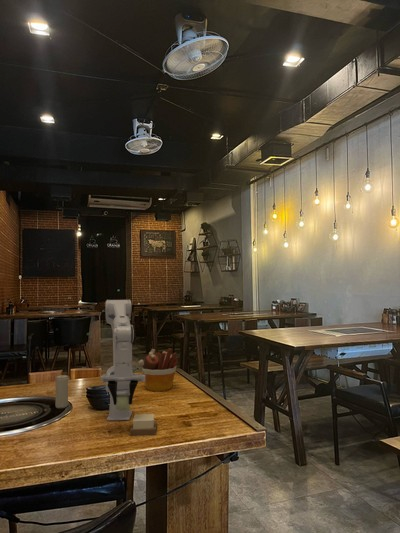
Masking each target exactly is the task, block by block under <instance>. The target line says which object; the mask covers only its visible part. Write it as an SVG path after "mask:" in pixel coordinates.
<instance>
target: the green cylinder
mask: <svg viewBox="0 0 400 533" xmlns="http://www.w3.org/2000/svg"><path fill="white" fill-rule="evenodd" d="M129 398H130V395H127V394H121V395H117V396H116V409H117V410H128V409H129V408H130V409H131V406H130V405H129Z"/></svg>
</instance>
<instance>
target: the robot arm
mask: <svg viewBox="0 0 400 533" xmlns="http://www.w3.org/2000/svg"><path fill="white" fill-rule="evenodd" d="M104 311H105V321H106V323H107V324H109V325H110V327H111V330H112V354H113V356H112V358H113V359H112V360H113V361H112V362H113V365H112V366H110V367H109V368H108V369H107V370H106V373H105V374H103V375H102V374H101V375H100V383H105V391H106V392H107V393H108V392H109V394H110V404H109V409H108V410H109V413H108V416H107V418H106V421H130V418H131V416H132V413H133V411H132V410H130V409H131V407H130V408H129V409H128V410H117V409H116V396H117V395H121V394H127V395H130V398H129V405H132V404H133V398H134V395H135V391H136V388H137V386H138V383H139V382H141V383H143V382H144V383H145V375H143V374H137V373H136V374H135V373H134V372H133V371H134V370H133V343H134V338H135V333H134V332H135V330H134V326H133V324H131V314H132V300H131V299H130V298H129V299H106V300H105V309H104Z"/></svg>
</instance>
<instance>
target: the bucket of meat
mask: <svg viewBox="0 0 400 533" xmlns="http://www.w3.org/2000/svg"><path fill="white" fill-rule="evenodd" d="M150 350H151V351H149V352H148V354H147V355H146V356H145V357H144V360H143V359H140V360H138V365H141V371H142V375H145V382H144V384H145V388H146V389H147V390H148V391H149V392H155V391H160V392H166V391H165V390H167V391H169V390H170V389H171V388H172V386H173V383H174V378H175V373H176V369H177V365H178V364H179V361H178V359H177V356H178V355H177V352H173V353H172V351H173V350H172V348H170V347H169V348H167V351H166V350H165V351H162V352H156V349H154V348H151V349H150ZM155 393H156V392H155Z"/></svg>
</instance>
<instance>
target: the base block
mask: <svg viewBox="0 0 400 533" xmlns="http://www.w3.org/2000/svg"><path fill="white" fill-rule="evenodd" d="M157 428H158V420H154V428H147V429H133V423H132V425H131V426H130V430H129V432H130V437H141V436H142V437H145V436H146V437H150V436H156V435H157Z"/></svg>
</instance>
